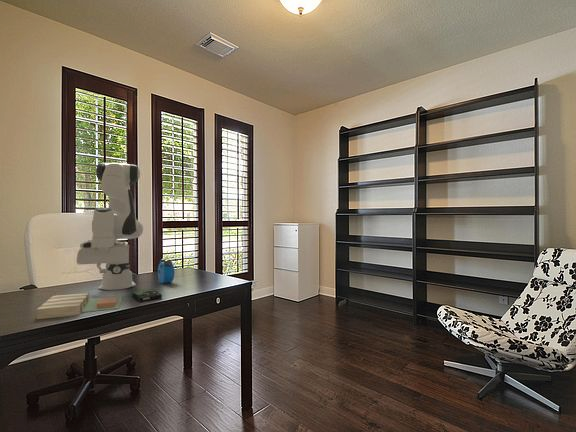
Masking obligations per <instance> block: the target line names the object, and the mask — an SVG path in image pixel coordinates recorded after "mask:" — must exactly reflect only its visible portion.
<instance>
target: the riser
mask: <svg viewBox="0 0 576 432" xmlns="http://www.w3.org/2000/svg"><path fill="white" fill-rule="evenodd" d="M89 297H90V293H89V292H85V293H84V292H83V293H71V294H62V295H60V294H59V295H52V296H51V297H50V298H49V299H48V300H46V301H45V302H44V303H42V304H41V305H40V306H39V307H38V308H36V320H44V319H51V318H53V319H55V318H62V317H63V318H64V317H73V316H80V315H81V314H82V313H81V311H82V309H83V308H84V307H85V305H86V304H87V302H88V301H89V299H90V298H89Z"/></svg>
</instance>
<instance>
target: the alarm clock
mask: <svg viewBox="0 0 576 432" xmlns="http://www.w3.org/2000/svg"><path fill="white" fill-rule="evenodd" d="M157 276H158V281H159V283H160V284H167V283H168V284H169V283H170V284H171V283H172V282H173V281H174V278H175V266H174V264H173V261H172V260H171V259H167V258H165V257H164V258H161V259H160V260H159V264H158V268H157Z"/></svg>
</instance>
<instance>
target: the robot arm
mask: <svg viewBox="0 0 576 432" xmlns="http://www.w3.org/2000/svg"><path fill="white" fill-rule="evenodd" d="M95 175H96V177H97V179H98V180H99V181H100V182H101V183H100V186H101V191H102V192H103V194H104V195H106V196H108V207H98V208H95V209H94V211H93V216H92V221H91V226H92V227H91V232H92V237H91V238H92V239H89V240H87V241H84V242H81V243H80V244H79V247H80V249H79V250H78V251H77V254H76V255H77V256H76V264H77V265H79V266H80V265H96V268H97V269H98V270H99V274H102V277H101V278H102V279H101V281H102V282H101V285H100V286H98V287H97V290H98V289H99V290H107V291H115V290H124V289H129V288H131V287H136V285H137V284H136V283H135V282H134V281H133V272H132V271H131V270H130V266H131V265H130V262H129V261H130V259H129V255H130V253H129V252H130V251H129V250H130V245H129V243H126V242H119V241H118V240H132V239H137V238H140V237H141V236H142V234H143V232H144V227H143V224H142V223H141V222H140V221H139V220H138V219H137V217H136V212H135V211H136V210H135V204H134V198H133V193H132V191H131V186H133V185H134V184H136V183H137V182H138V181H140V178H141V171H140V169H139V167H138V165H136V164H129V163H122V162H121V163H120V162H109V163H108V162H102V163H99V164H97V166H96V168H95ZM130 185H131V186H130ZM103 264H105V268H102V266H101V265H103Z"/></svg>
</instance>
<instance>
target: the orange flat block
mask: <svg viewBox="0 0 576 432" xmlns="http://www.w3.org/2000/svg"><path fill="white" fill-rule="evenodd" d="M108 297H109V298H105V297H99V298H100V299H99V301H98V303H97V308H106V307H115V305H116V302H117V296H108Z"/></svg>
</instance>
